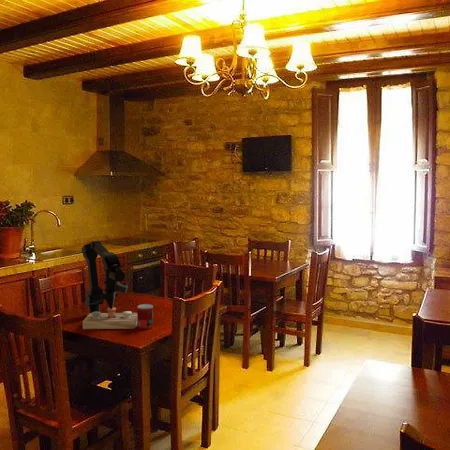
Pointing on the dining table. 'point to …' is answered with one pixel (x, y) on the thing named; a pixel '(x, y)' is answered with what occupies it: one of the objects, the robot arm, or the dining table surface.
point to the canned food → (145, 316)
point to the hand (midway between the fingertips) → (111, 308)
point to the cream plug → (127, 314)
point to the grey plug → (96, 314)
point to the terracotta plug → (111, 312)
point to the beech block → (110, 322)
